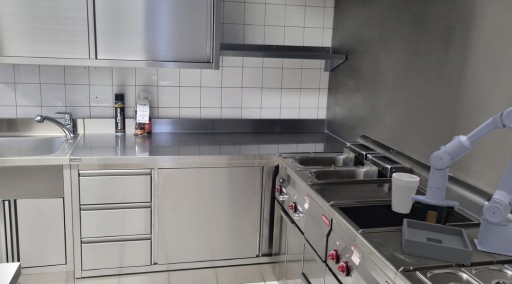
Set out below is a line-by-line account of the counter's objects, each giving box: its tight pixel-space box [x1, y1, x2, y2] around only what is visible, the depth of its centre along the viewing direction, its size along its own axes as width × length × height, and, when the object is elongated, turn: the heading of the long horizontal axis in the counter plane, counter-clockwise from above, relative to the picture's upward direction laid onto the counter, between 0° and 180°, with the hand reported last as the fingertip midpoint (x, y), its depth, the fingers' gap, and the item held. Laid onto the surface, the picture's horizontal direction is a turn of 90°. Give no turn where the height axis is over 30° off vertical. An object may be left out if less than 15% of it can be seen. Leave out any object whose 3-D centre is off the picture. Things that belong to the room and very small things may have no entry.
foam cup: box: [391, 172, 420, 214], centre depth 165 cm, size 10×9×13 cm
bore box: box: [401, 218, 474, 267], centre depth 136 cm, size 18×17×4 cm
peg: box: [425, 210, 438, 224], centre depth 150 cm, size 3×3×6 cm
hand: (430, 225), depth 150 cm, fingers open, 7 cm apart
